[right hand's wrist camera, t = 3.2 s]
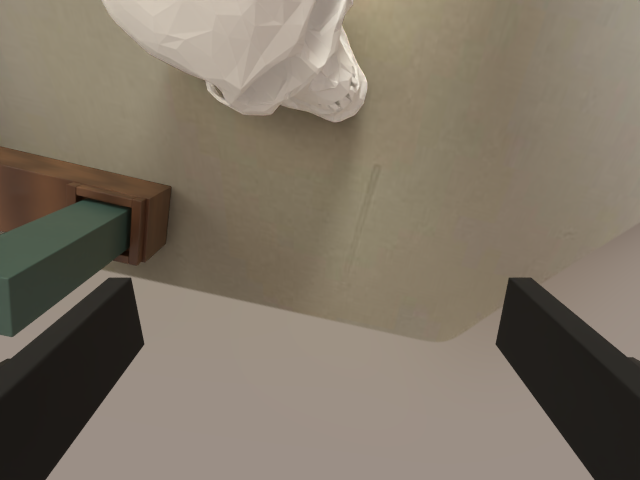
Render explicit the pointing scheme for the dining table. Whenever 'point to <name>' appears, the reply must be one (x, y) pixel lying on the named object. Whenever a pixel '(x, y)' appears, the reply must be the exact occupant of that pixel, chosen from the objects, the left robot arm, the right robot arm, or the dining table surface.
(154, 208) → the walnut base
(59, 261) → the peg
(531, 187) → the dining table surface
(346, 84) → the skull
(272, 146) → the dining table surface
